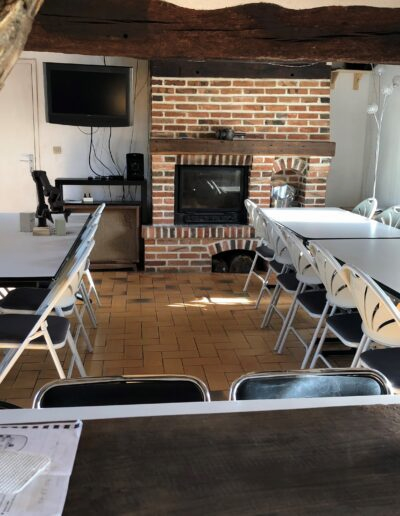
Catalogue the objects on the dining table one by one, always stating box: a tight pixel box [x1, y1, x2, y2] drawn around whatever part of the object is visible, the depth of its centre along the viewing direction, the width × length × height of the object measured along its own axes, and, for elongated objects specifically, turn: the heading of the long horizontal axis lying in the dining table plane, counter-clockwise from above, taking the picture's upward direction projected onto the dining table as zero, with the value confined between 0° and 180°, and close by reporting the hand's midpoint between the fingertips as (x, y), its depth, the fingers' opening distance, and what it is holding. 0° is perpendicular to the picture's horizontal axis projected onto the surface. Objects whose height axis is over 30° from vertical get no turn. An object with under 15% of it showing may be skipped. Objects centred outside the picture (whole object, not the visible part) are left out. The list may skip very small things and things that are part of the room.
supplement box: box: [19, 211, 36, 233], centre depth 355 cm, size 7×7×13 cm
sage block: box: [54, 218, 67, 236], centre depth 347 cm, size 5×5×10 cm
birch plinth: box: [32, 226, 51, 237], centre depth 346 cm, size 10×10×4 cm
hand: (60, 223), depth 346 cm, fingers open, 9 cm apart
